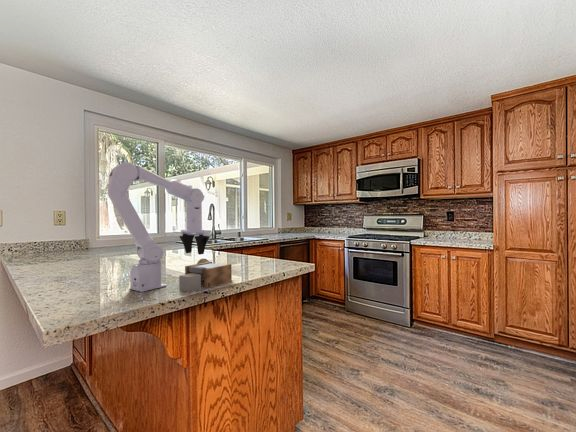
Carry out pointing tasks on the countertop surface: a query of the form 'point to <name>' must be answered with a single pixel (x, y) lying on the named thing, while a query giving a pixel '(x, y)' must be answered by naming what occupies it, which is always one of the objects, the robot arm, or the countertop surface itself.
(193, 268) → the trapdoor
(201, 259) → the coral
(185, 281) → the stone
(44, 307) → the countertop surface
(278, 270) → the countertop surface
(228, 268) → the frame
